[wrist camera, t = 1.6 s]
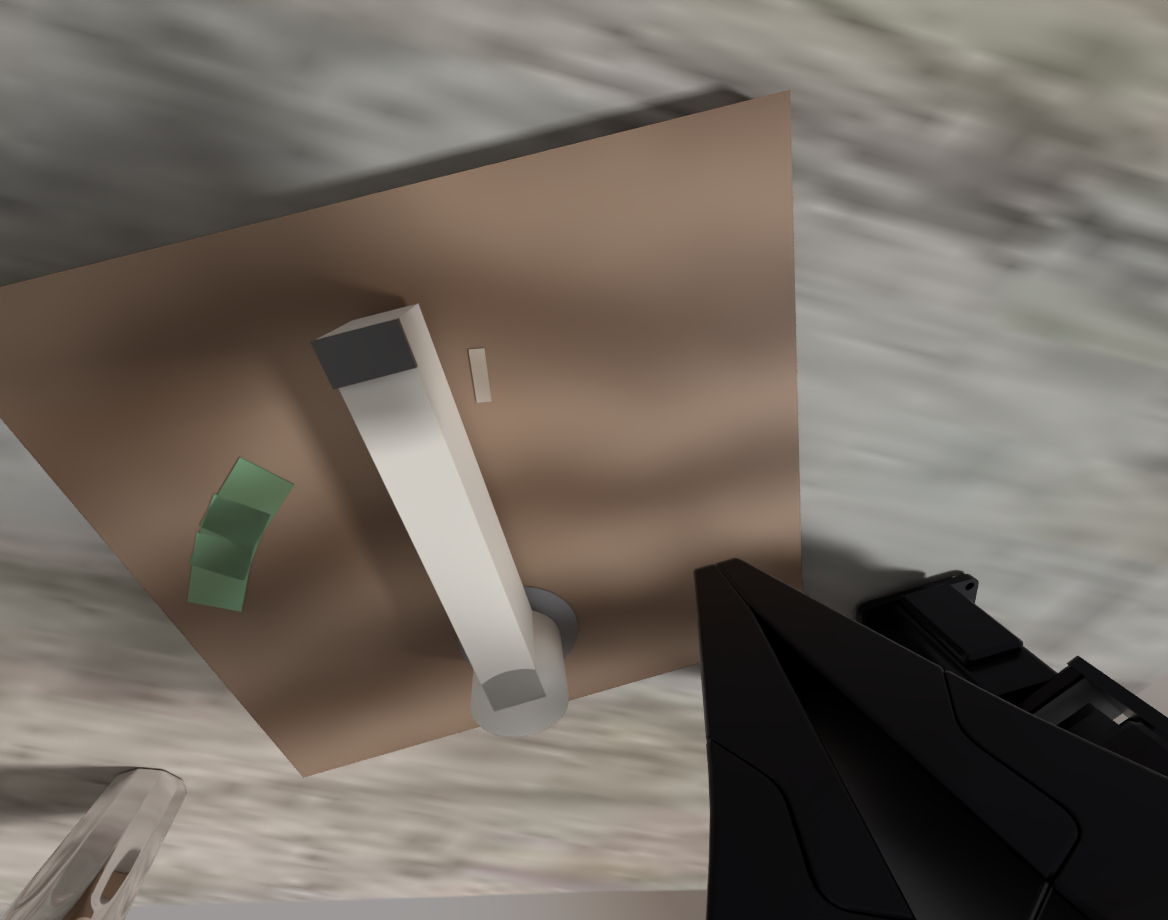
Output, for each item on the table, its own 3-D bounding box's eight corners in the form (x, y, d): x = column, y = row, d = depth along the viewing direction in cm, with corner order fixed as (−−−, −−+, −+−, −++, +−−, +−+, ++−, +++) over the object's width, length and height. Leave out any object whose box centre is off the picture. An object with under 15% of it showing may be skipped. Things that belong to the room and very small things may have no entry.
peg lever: (569, 659, 21) (579, 725, 18) (490, 682, 21) (488, 752, 18) (444, 296, 14) (427, 311, 11) (325, 327, 14) (278, 350, 11)
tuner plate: (787, 611, 25) (804, 634, 23) (315, 747, 24) (302, 779, 22) (764, 103, 15) (791, 88, 13) (-34, 302, 14) (-95, 310, 13)
